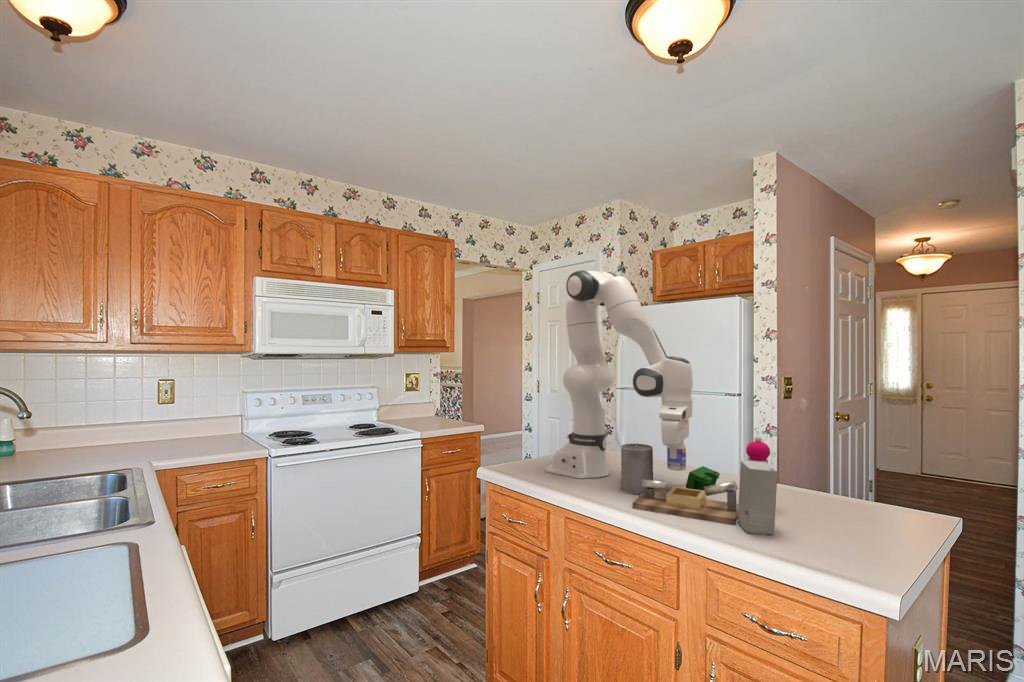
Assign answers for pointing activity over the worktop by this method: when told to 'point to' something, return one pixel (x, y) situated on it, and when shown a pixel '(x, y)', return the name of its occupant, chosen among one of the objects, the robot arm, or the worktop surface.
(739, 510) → the skincare box
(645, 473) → the pillar candle
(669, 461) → the pill bottle
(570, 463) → the robot arm
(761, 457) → the pepper mill
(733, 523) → the shaft stand
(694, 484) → the clamp
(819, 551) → the worktop surface
